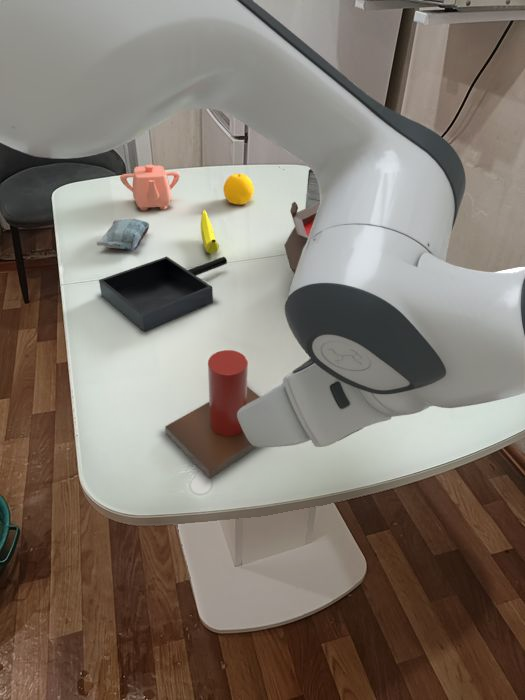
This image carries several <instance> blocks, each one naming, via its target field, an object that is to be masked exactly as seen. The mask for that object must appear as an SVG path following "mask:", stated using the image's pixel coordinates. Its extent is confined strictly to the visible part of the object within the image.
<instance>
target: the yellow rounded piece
mask: <svg viewBox="0 0 525 700" xmlns="http://www.w3.org/2000/svg"><path fill="white" fill-rule="evenodd" d="M222 189H223V190H222V191H223V195H224V197H225V199H226V200H227V201H228V202H229V203H231V204H233V205H246V204H247V203H249V202H250V201H251V200H252V199H253V196H254V192H255V186H254V183H253V182H252V179H251V178H250V177H248V175H246V174H244V173H233V174H232V175H230V176H228V177H227V178H226V180H225V182H224V184H223V188H222Z"/></svg>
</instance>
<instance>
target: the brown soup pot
mask: <svg viewBox="0 0 525 700" xmlns="http://www.w3.org/2000/svg"><path fill="white" fill-rule="evenodd" d="M319 204H320V203H316V204H314V205H312V206H310V207H308V208H305V207H304V208H303V209H301V210H299V211H298V209H299V206H298V204H297V202H296V201H294V202H292V203H291V207H290V211H289V213H290V215H291V218H292V221H293V224H294V227H293V229H292V231H291V233H290V235H289V236H288V238H287V239H286V241H285V243H284V249H285V254H286V257H287V261H288V266H289V269H290V270H291V272H292V273H293V275H295V271H296V268H297V266H298V263H299V260H300V257H301V254H302V251H303V248H304V246H305V245H306V243H307V240H308V237H309V234H310V231H311V228H312V225H313V222H314V219H315V216H316V213H317V210H318V207H319Z"/></svg>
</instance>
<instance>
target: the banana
mask: <svg viewBox="0 0 525 700" xmlns="http://www.w3.org/2000/svg"><path fill="white" fill-rule="evenodd" d="M200 217H201V218H200V231H201V239H202V242H203V246H204V249H205V252H206V253H207V254H210V255H214V254H215V253H217V252H218V251H219V247H220V245H219V243H218V242H217V240H216V236H215V231H214V228H213V225H212V222H211V220H210V218H209V215H208V213H207V211H206V210H205V209H203V210H202V212H201V216H200Z"/></svg>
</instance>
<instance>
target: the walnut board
mask: <svg viewBox="0 0 525 700" xmlns="http://www.w3.org/2000/svg"><path fill="white" fill-rule="evenodd" d="M259 397H261V396H260V395H258V393H256V392H254V390H252V389H251V388H249V386H247V404H248V403H250V402H252V401H254V400H256V399H257V398H259ZM164 428H165V435H166V436H168V437H169V438H170V439H171V441H173V442H174V443H175V444H176V446H177V447H178V448H179V449H180V450H181V451H183V453H184V454H185V455H186V456H187V457H188V458H189V459H190V460H191V461H192V462H193V463H194V464H195V465H196V466H197V467H198V468H199V469H200V470H201V471H202V472H203V473H204V475H206V476H207V478H209V479H211V478H213V477H214V476H216V475H217V474H219V473H220V472H222V471H223V470H225V469H226V468H227V467H229V466H232V464H234V463H235V462H237V461H238V460H240V459H241V458H243V457H244V456H246V455H247V454H248V453H250V452H252V451H253V450H255V449H256V448H257V447H256V446H253V445H252V444H251V443H250V442H249V440H248V439H247V437H246V435H245V434H244V432H243V431H241V432H240V433H238V434H236V435H233V436H223V435H219V434H217V433H216V432H214V431H213V429H212V428H211V425H210V405H209V401H208V402H206V403H204V404H203V405H201V406H199V407H197V408H196V409H194V410H192V411H190V412H188V413H187V414H184V415H183V416H181V417H180V418H178V419H176V420H174V421H173V422H171V423H169V424H167V425H165V427H164Z"/></svg>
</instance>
